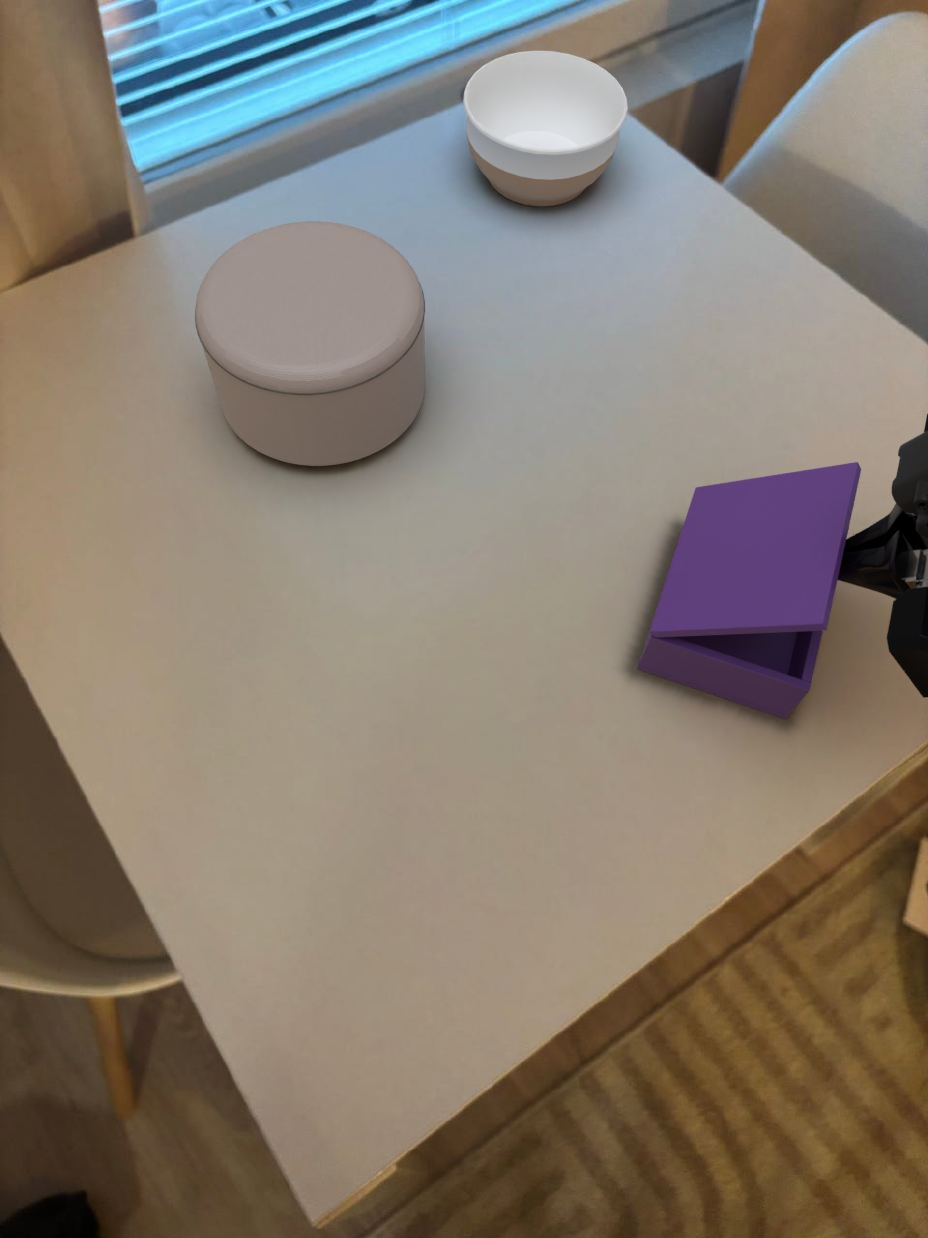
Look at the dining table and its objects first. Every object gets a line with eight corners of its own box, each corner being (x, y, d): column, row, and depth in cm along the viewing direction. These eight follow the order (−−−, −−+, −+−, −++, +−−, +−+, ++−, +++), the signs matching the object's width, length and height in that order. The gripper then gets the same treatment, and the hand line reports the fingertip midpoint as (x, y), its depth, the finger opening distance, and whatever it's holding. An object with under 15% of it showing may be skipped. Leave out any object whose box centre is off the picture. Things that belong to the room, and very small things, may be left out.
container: (180, 388, 83) (143, 283, 73) (338, 291, 89) (325, 182, 79) (307, 514, 77) (287, 420, 67) (468, 401, 83) (472, 298, 73)
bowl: (485, 235, 93) (489, 163, 86) (443, 135, 101) (444, 61, 94) (636, 209, 96) (652, 137, 89) (585, 113, 103) (596, 39, 96)
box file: (818, 574, 76) (842, 539, 71) (785, 719, 70) (809, 691, 65) (680, 531, 77) (696, 493, 73) (636, 668, 71) (650, 637, 67)
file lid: (861, 469, 64) (858, 461, 64) (827, 631, 58) (822, 623, 58) (699, 493, 73) (695, 486, 72) (654, 637, 67) (649, 631, 66)
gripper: (1047, 308, 53) (788, 386, 64) (1018, 574, 44) (725, 610, 56) (1103, 439, 59) (856, 490, 70) (1087, 696, 50) (810, 707, 62)
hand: (815, 565), depth 64 cm, fingers closed, pressing on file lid
